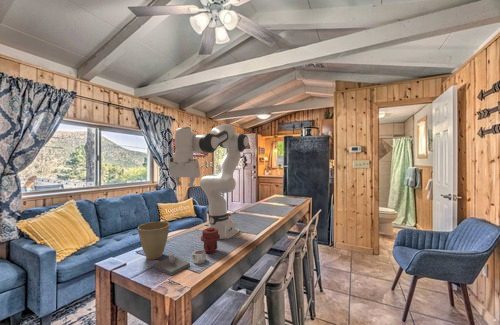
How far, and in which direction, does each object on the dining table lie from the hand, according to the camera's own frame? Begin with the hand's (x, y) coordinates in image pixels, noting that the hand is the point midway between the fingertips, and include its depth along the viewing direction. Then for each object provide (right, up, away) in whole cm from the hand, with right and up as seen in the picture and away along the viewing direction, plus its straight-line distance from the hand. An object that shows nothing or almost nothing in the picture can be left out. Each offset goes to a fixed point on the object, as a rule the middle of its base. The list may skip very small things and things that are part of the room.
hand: (184, 186), depth 113 cm
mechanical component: (+12, -36, +6) cm, 38 cm away
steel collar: (+8, -36, -5) cm, 37 cm away
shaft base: (-3, -36, -10) cm, 38 cm away
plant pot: (-16, -36, +1) cm, 40 cm away
